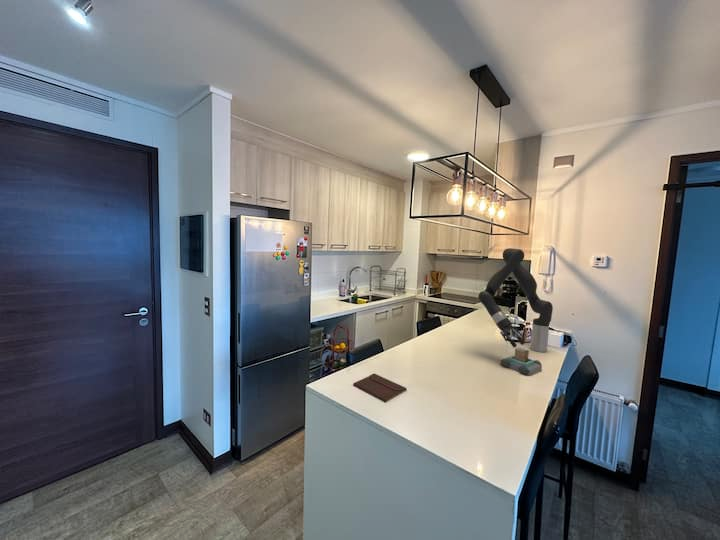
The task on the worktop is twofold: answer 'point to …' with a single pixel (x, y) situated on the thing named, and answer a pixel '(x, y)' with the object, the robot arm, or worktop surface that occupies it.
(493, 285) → the robot arm
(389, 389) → the notebook
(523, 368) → the chassis
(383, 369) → the worktop surface
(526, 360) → the engine block
